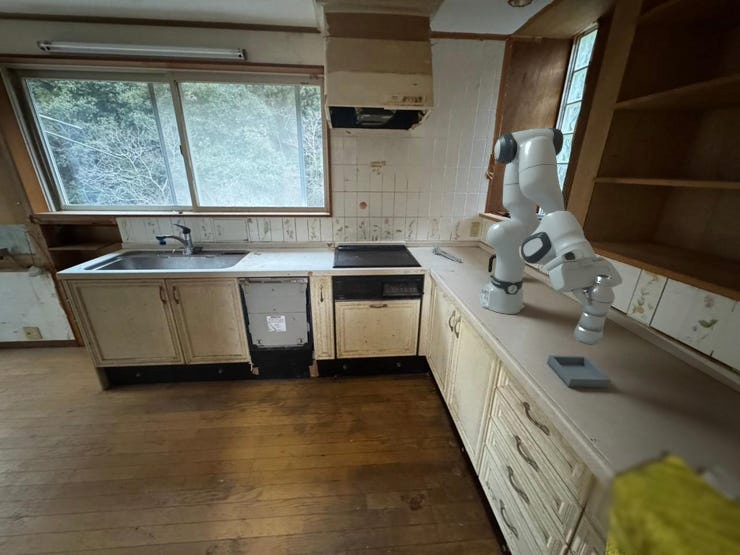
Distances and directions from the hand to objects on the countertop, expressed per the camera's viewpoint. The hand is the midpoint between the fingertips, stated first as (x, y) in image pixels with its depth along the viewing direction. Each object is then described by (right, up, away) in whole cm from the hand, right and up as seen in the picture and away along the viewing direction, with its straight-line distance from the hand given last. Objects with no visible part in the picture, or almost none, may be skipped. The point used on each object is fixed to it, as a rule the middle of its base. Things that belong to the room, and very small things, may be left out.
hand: (598, 303), depth 79 cm
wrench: (-10, +21, +126) cm, 128 cm away
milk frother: (+11, +6, +84) cm, 85 cm away
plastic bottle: (0, -12, +5) cm, 13 cm away
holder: (0, -22, +9) cm, 24 cm away
